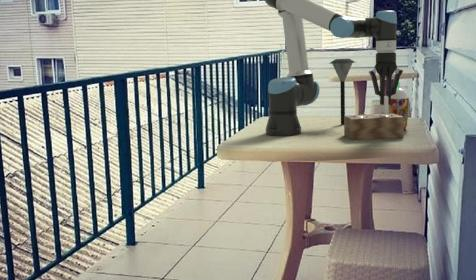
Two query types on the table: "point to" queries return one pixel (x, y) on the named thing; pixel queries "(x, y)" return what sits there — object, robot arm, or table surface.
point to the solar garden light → (342, 79)
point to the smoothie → (400, 104)
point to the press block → (374, 126)
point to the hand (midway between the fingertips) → (385, 113)
